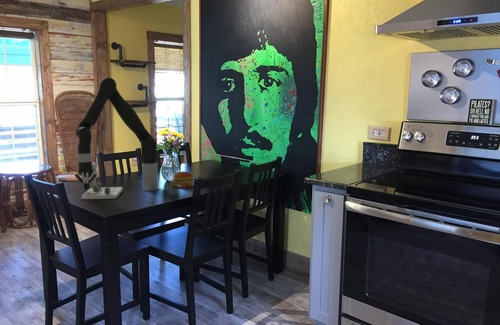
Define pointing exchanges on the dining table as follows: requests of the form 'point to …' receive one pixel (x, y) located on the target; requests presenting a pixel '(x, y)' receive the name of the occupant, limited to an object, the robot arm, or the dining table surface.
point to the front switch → (107, 190)
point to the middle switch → (96, 187)
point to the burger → (182, 180)
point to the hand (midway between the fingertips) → (86, 189)
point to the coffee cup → (92, 174)
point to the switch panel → (102, 193)
